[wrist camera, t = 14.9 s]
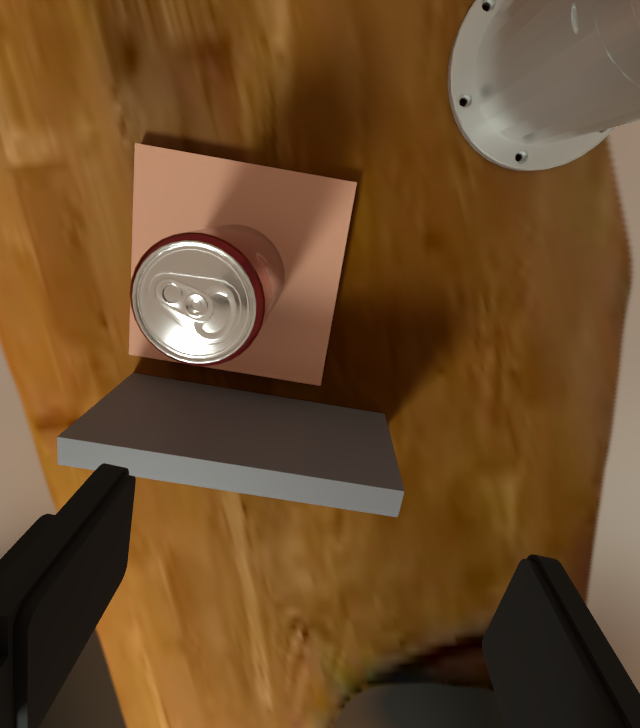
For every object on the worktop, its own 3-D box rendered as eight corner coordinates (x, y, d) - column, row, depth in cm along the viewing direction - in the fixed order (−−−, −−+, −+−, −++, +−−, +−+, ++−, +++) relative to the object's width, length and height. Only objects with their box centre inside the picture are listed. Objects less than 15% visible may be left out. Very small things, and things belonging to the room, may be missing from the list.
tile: (140, 144, 33) (134, 143, 32) (356, 183, 34) (356, 182, 33) (133, 350, 39) (128, 354, 38) (320, 381, 39) (320, 385, 38)
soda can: (303, 256, 35) (288, 280, 23) (258, 335, 37) (224, 393, 26) (217, 204, 34) (158, 204, 22) (176, 289, 36) (103, 328, 25)
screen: (133, 372, 39) (57, 436, 28) (384, 413, 40) (404, 491, 29) (131, 434, 41) (59, 516, 30) (370, 472, 42) (384, 565, 31)
